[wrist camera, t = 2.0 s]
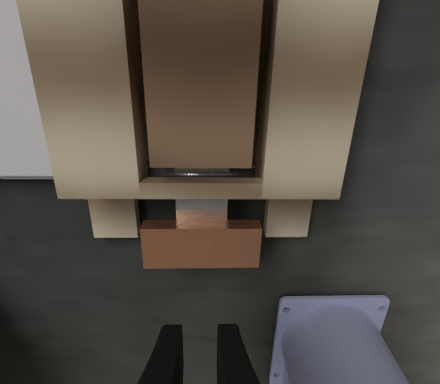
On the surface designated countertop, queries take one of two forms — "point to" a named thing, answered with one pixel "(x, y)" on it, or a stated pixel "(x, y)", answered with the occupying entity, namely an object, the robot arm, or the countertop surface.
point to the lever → (201, 230)
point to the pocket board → (136, 112)
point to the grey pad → (19, 105)
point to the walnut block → (200, 81)
